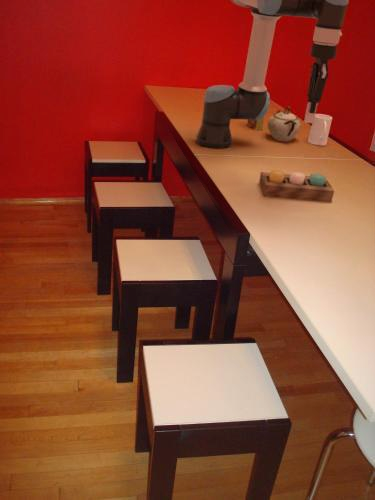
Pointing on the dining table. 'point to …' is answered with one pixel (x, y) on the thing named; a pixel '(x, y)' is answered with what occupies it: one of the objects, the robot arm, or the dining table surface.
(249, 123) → the candy box
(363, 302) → the dining table surface
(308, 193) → the wooden compartment tray
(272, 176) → the orange rounded ball
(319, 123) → the mug
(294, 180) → the pink round piece
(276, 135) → the sugar bowl
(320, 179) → the teal egg
